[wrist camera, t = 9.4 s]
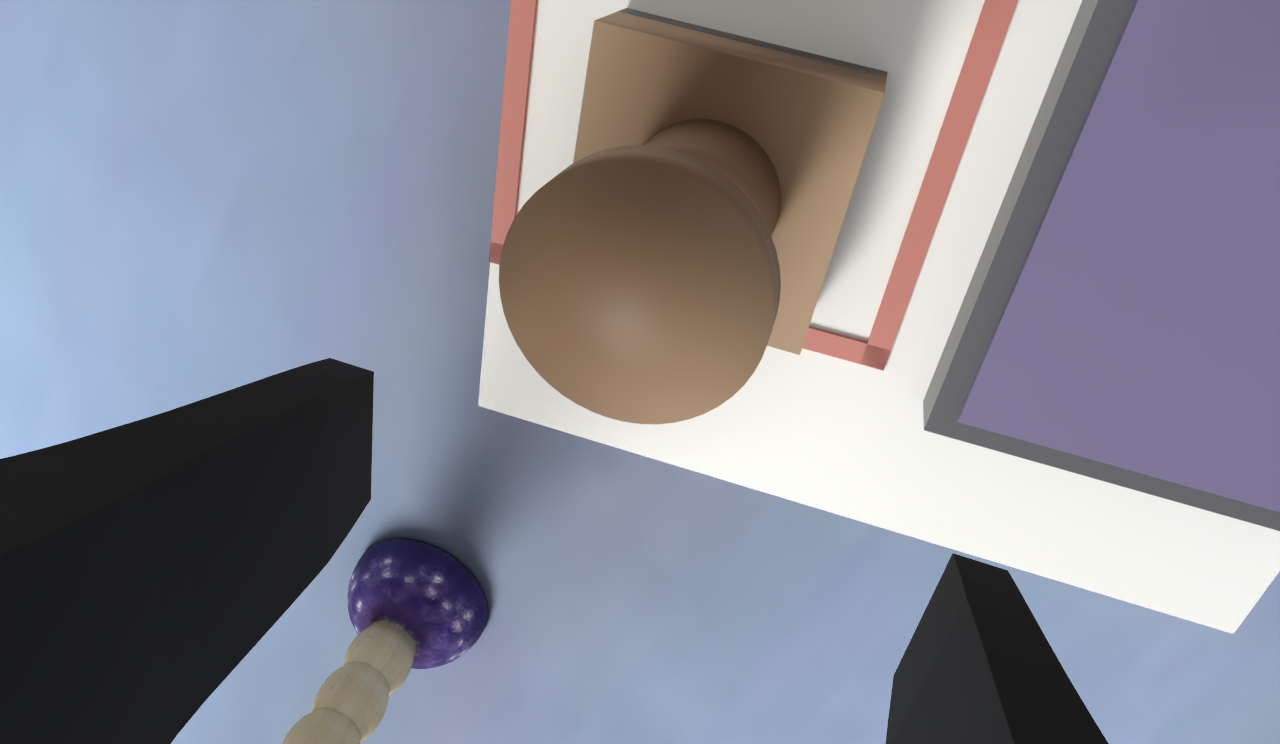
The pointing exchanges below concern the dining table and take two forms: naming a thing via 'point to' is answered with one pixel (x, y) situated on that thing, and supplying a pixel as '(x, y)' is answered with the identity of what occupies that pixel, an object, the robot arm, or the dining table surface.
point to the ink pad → (1137, 265)
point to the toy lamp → (394, 635)
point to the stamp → (685, 216)
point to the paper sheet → (878, 305)
